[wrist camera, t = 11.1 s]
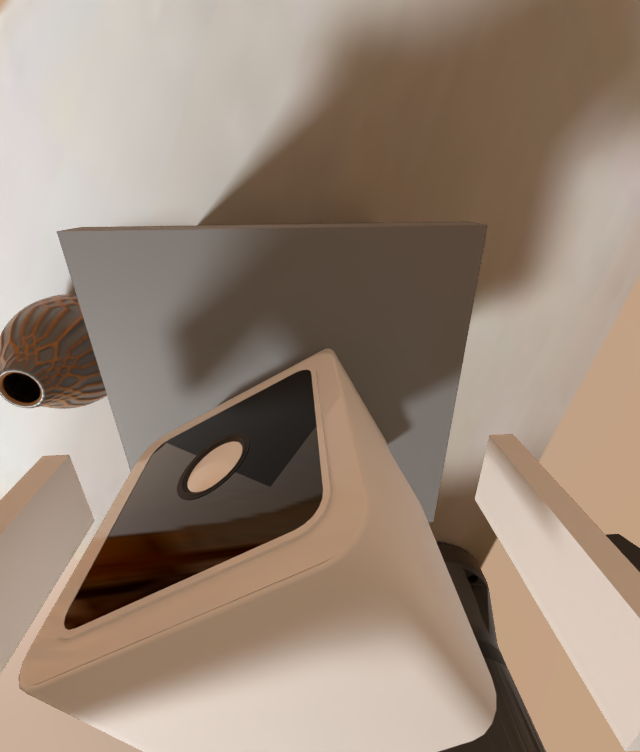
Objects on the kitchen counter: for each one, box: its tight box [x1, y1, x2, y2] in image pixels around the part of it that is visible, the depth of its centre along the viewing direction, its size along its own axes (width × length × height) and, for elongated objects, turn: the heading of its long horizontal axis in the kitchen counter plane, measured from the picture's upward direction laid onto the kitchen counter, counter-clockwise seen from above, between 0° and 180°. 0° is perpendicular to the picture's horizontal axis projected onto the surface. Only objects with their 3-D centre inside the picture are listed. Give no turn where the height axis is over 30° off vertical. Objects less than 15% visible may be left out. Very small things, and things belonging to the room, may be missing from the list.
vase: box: [0, 294, 107, 409], centre depth 23 cm, size 7×7×9 cm
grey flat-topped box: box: [57, 222, 488, 522], centre depth 21 cm, size 14×14×14 cm
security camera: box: [19, 348, 496, 752], centre depth 11 cm, size 6×7×10 cm
